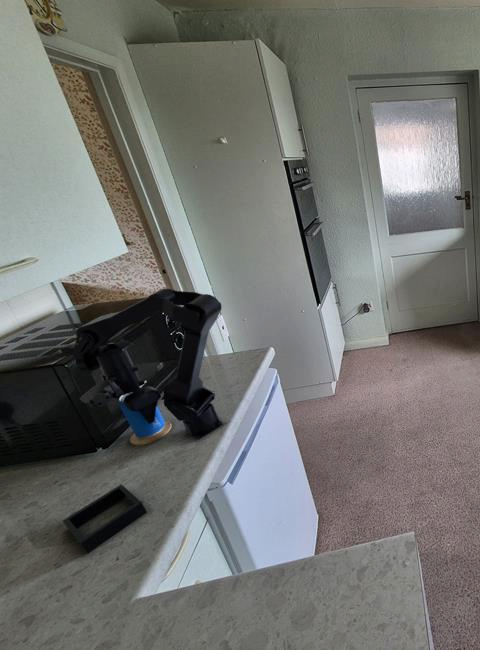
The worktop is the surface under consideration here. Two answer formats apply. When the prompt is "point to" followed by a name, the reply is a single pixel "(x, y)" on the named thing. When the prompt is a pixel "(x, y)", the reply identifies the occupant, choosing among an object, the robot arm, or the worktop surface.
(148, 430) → the beverage can
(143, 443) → the coaster
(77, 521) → the black rectangular open frame
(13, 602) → the worktop surface
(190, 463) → the worktop surface
